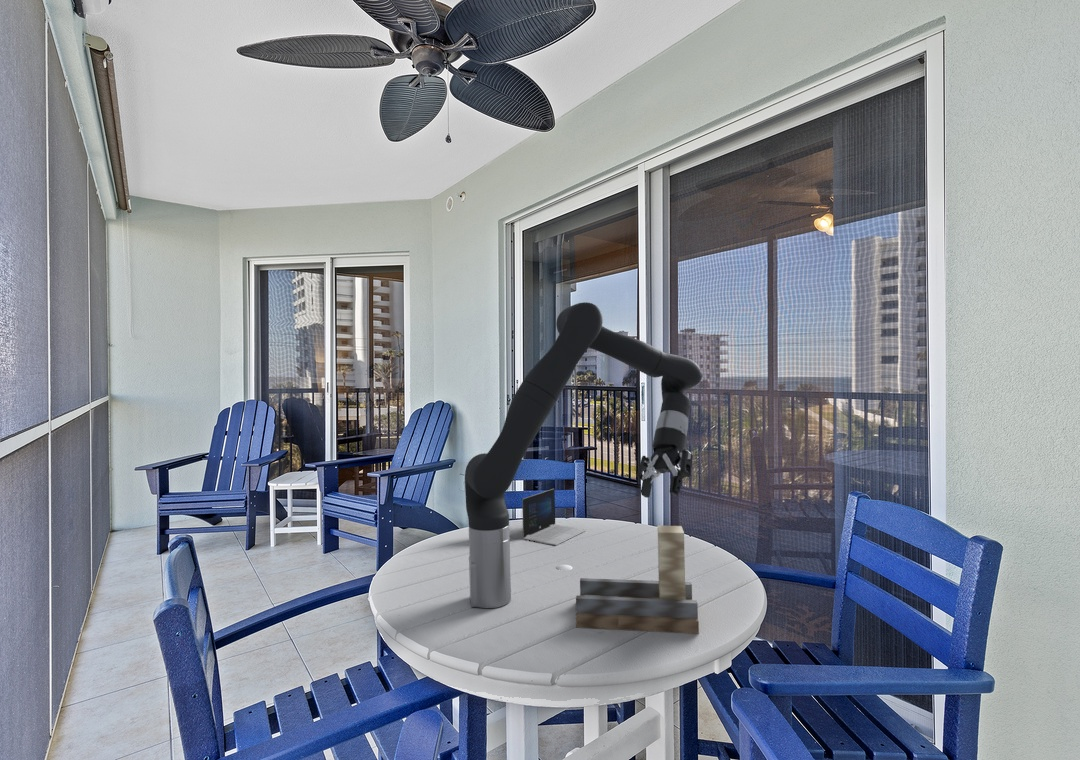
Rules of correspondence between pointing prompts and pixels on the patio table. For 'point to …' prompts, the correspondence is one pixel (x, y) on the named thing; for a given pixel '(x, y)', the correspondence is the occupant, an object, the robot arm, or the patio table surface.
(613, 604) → the channel deck
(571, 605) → the patio table surface
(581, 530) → the laptop
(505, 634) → the patio table surface
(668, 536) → the tall block
